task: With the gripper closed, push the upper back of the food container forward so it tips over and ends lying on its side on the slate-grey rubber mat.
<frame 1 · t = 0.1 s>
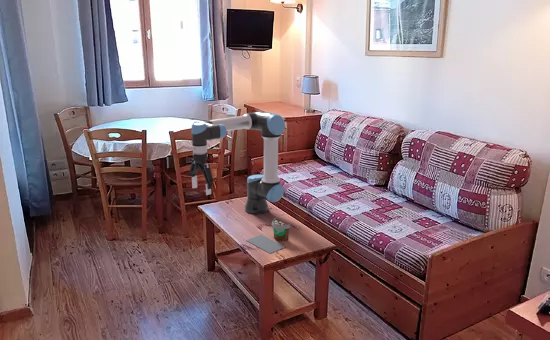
hand: (201, 191, 233), 28 cm above the table, fingers open, 13 cm apart
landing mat: (265, 243, 236), on the table
food container: (278, 239, 242), on the table
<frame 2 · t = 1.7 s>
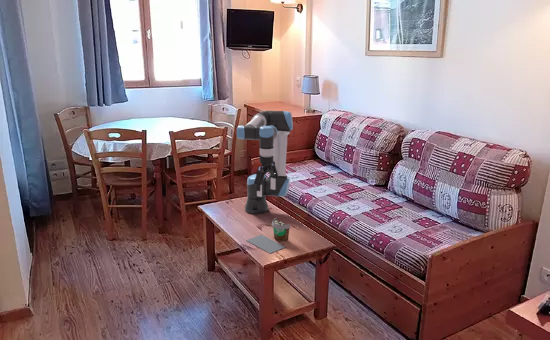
hand: (266, 192, 239), 26 cm above the table, fingers open, 13 cm apart
nothing on the table moved.
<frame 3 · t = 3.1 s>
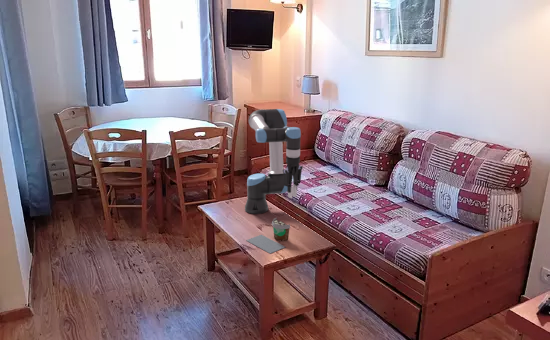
hand: (292, 196, 242), 23 cm above the table, fingers open, 3 cm apart
nothing on the table moved.
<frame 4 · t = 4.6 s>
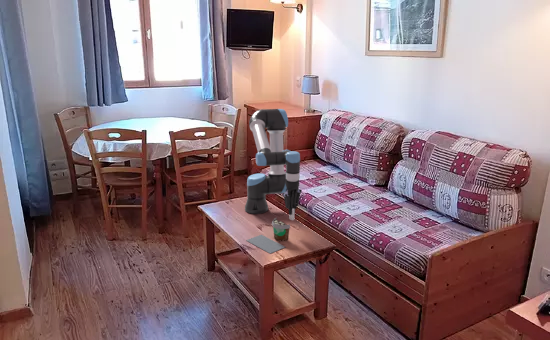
hand: (291, 219, 246), 9 cm above the table, fingers closed
nothing on the table moved.
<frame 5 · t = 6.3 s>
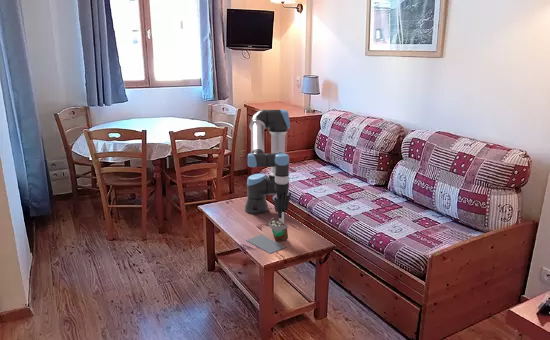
hand: (281, 222, 240), 9 cm above the table, fingers closed
food container: (278, 238, 242), on the table, touching gripper
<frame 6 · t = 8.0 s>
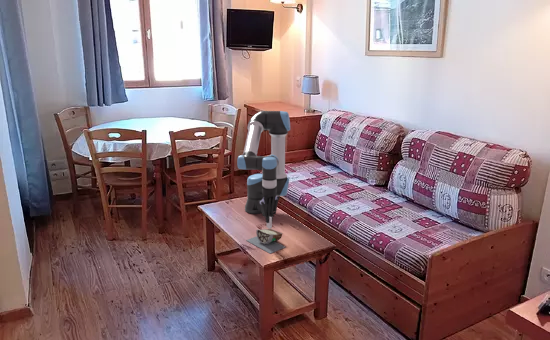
hand: (269, 227, 235), 9 cm above the table, fingers closed
food container: (276, 236, 241), point 2 cm above the table, touching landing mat
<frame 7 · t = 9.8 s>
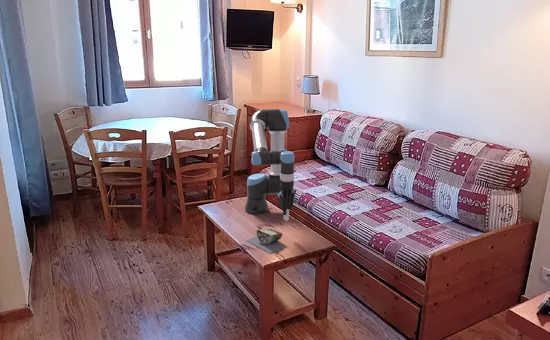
hand: (286, 219, 243), 10 cm above the table, fingers closed
nothing on the table moved.
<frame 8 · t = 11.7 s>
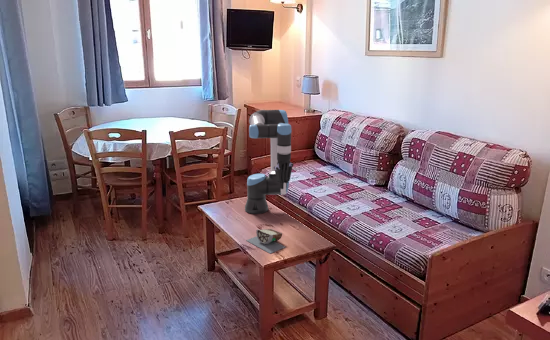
hand: (283, 193, 241), 24 cm above the table, fingers closed
nothing on the table moved.
at the end: food container tilted 79°; food container inside the target area (5.7 cm from its centre), point 1.8 cm above the table; food container touching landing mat, table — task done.
